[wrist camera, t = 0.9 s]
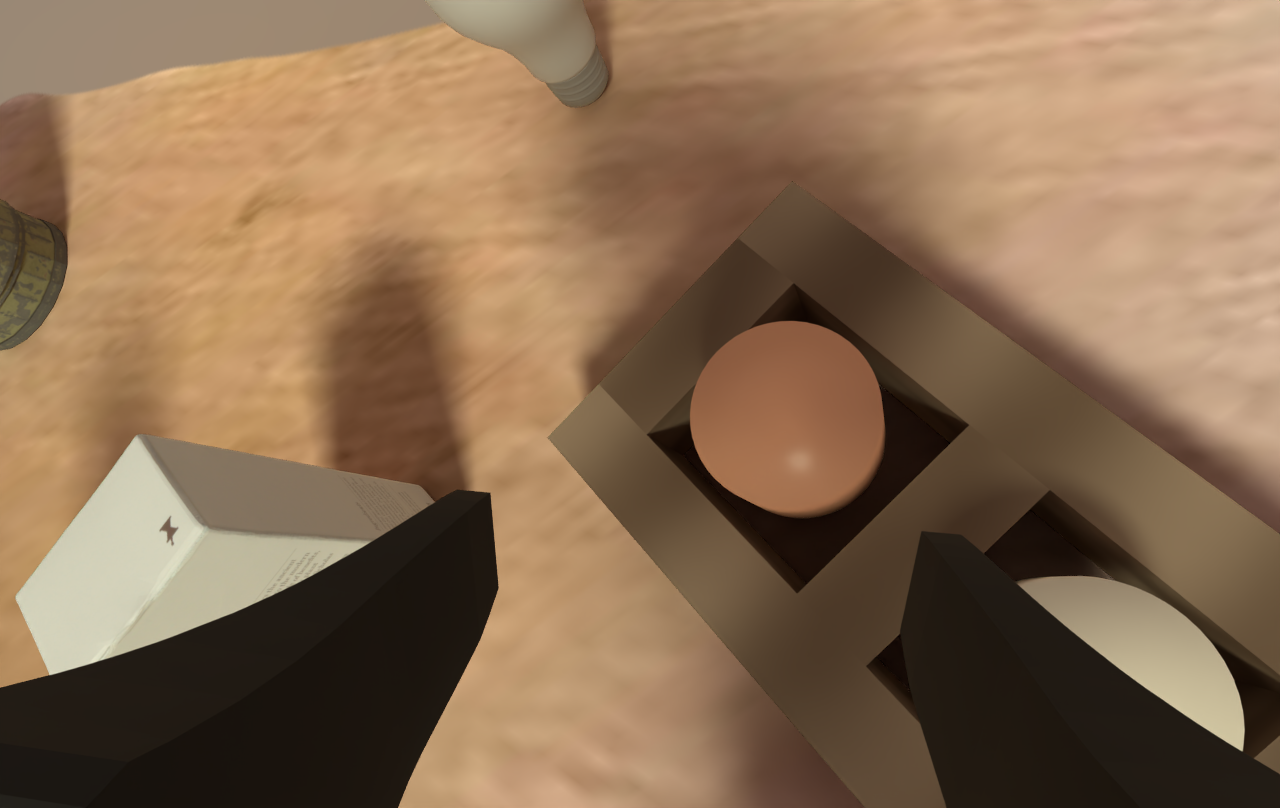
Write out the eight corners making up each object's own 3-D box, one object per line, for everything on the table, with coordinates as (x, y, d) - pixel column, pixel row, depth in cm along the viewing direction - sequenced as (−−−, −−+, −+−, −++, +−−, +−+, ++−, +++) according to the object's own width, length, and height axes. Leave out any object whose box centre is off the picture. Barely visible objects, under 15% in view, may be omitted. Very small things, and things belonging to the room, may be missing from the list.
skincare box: (421, 482, 30) (139, 423, 19) (481, 549, 28) (208, 527, 17) (333, 591, 30) (5, 596, 19) (388, 664, 28) (60, 717, 17)
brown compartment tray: (1408, 693, 18) (1539, 722, 14) (1068, 991, 18) (1108, 1092, 15) (807, 237, 26) (792, 180, 22) (595, 457, 27) (547, 437, 23)
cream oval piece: (1231, 692, 16) (1310, 718, 13) (1075, 833, 17) (1114, 891, 14) (1046, 536, 18) (1076, 527, 15) (911, 665, 19) (912, 683, 16)
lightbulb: (618, 167, 30) (474, -42, 20) (509, 140, 32) (332, -57, 22) (675, 43, 30) (563, -222, 20) (563, 27, 33) (414, -217, 23)
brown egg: (923, 433, 20) (927, 405, 17) (801, 553, 21) (782, 548, 17) (798, 328, 22) (780, 285, 19) (689, 439, 23) (654, 416, 19)
